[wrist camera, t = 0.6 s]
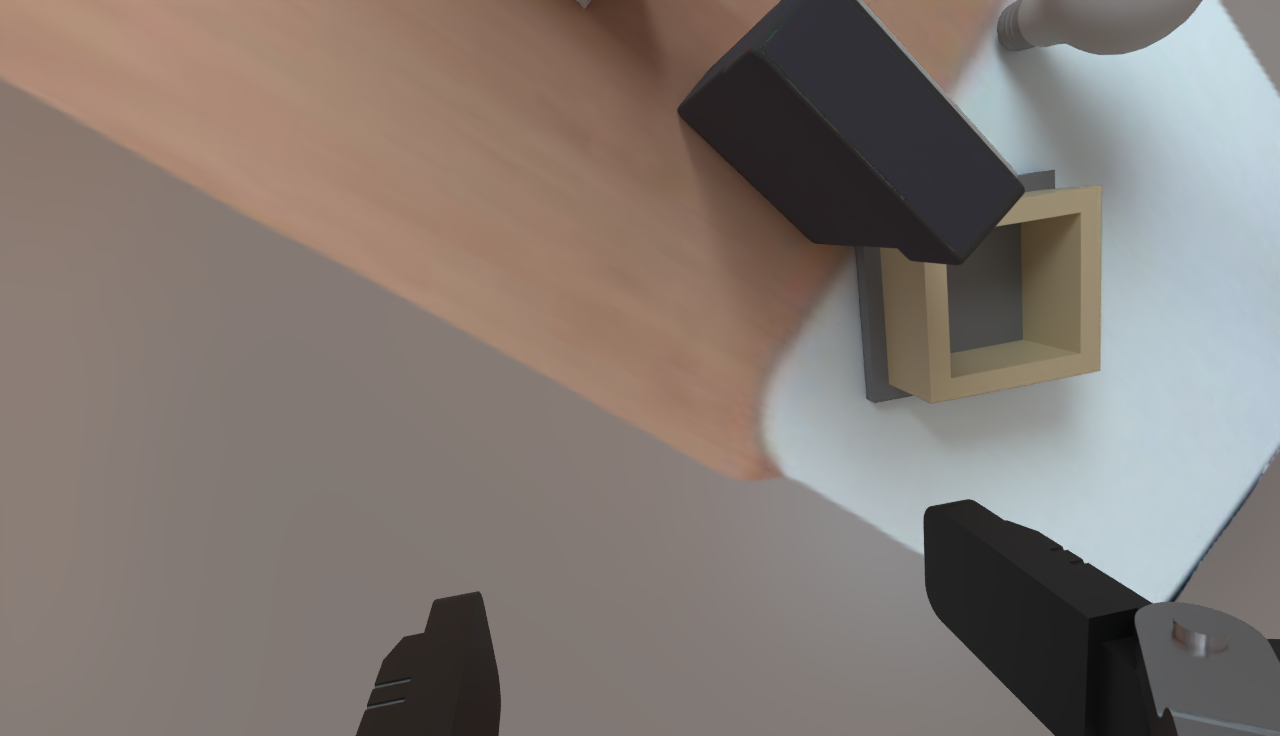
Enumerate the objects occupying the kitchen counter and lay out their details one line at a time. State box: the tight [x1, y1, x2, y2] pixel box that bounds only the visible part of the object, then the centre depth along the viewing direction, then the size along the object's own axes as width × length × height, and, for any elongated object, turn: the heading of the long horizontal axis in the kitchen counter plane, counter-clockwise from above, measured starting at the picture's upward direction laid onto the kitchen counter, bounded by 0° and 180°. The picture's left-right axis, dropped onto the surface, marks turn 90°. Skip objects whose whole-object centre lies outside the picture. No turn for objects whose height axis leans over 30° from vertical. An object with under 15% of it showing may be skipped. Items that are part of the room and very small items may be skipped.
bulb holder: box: [855, 170, 1102, 404], centre depth 37 cm, size 12×12×6 cm
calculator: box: [677, 0, 1025, 265], centre depth 30 cm, size 11×4×15 cm, turn 49°
